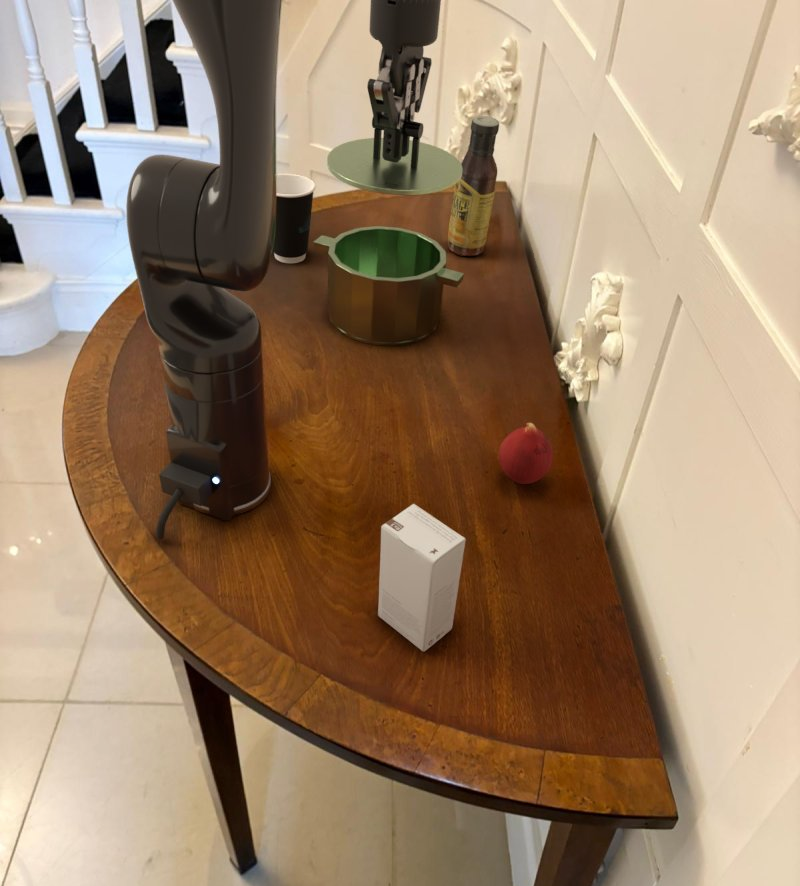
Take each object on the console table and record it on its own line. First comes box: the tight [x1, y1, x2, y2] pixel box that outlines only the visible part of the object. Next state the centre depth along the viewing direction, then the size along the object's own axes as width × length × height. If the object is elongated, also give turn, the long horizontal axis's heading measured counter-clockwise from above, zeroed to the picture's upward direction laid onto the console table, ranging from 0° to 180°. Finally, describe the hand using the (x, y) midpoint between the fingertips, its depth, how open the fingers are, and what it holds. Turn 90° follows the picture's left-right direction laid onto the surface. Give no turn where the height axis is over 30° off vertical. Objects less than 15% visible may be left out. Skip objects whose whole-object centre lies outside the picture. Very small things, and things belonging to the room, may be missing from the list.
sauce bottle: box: [447, 115, 500, 257], centre depth 121 cm, size 7×6×20 cm
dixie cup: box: [273, 173, 317, 264], centre depth 118 cm, size 8×8×11 cm
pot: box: [313, 225, 465, 347], centre depth 108 cm, size 16×21×10 cm
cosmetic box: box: [377, 503, 467, 652], centre depth 68 cm, size 6×4×12 cm
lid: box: [326, 116, 462, 196], centre depth 95 cm, size 17×17×6 cm
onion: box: [498, 422, 554, 485], centre depth 85 cm, size 6×6×8 cm
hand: (395, 157), depth 96 cm, fingers closed on lid
